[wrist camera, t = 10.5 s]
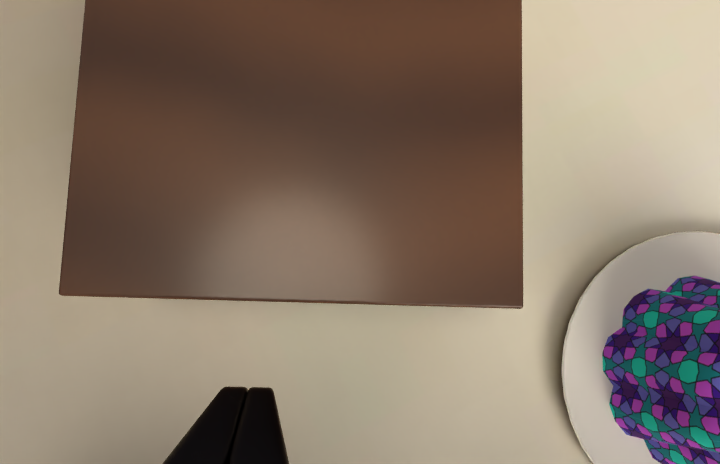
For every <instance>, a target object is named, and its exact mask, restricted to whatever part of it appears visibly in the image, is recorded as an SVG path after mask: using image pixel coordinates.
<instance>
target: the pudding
mask: <svg viewBox="0 0 720 464" xmlns="http://www.w3.org/2000/svg"><path fill="white" fill-rule="evenodd" d="M562 382H563V392H564V399H565V403H566V407H567V410H568V414H569V418H570V422H571V424H572V427H573V429H574V431H575V433H576V435H577V438H578V440H579V442H580V444H581V446H582V448H583V450H584V451H585V453H586V454H587V456H588V457H589V459H590V460H591V462H592V463H593V464H720V233H712V232H704V231H691V232H675V233H671V234H667V235H662V236H658V237H654V238H651V239H649V240H647V241H644V242H642V243H640V244H637V245H635V246H633V247H631V248H629V249H628V250H626V251H625V252H623V253H622V254H620V255H619V256H618V257H616V258H615V259H613V260H612V261H610V262H609V263H608V264H607V265H606V266H605V267H604V268H603V269H602V270H601V271H600V272H599V273H598V274H597V275H596V276H595V277H594V278H593V280H592V281H591V283H590V284H589V286H588V287H587V289H586V290H585V292H584V293H583V294H582V296H581V297H580V299H579V301H578V303H577V306H576V308H575V310H574V312H573V315H572V317H571V319H570V321H569V325H568V329H567V333H566V337H565V341H564V345H563V358H562Z"/></svg>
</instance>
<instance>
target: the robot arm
mask: <svg viewBox="0 0 720 464" xmlns="http://www.w3.org/2000/svg"><path fill="white" fill-rule="evenodd" d="M163 464H289V461H288V457H287V452H286V447H285V443H284V438H283V433H282V429H281V424H280V419H279V415H278V410H277V405H276V401H275V396H274V392H273V390H272V389H271V388H262V387H252V388H250V389H249V390H248V389H247V388H245V387H224V388H223V389H221V390H220V392H219V393H218V394H217V395H216V397H215V398H214V399H213V400H212V402H211V403H210V404H209V406H208V407H207V408H206V409H205V411H204V412H203V413H202V414H201V416H200V417H199V418H198V419H197V421H196V422H195V423H194V425H193V426H192V427H191V428H190V430H189V431H188V432H187V433H186V435H185V436H184V437H183V438H182V440H181V441H180V442H179V444H178V445H177V446H176V447H175V449H174V450H173V451H172V452H171V454H170V455H169V456H168V457H167V459H166V460H165V461H164V463H163Z"/></svg>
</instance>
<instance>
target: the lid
mask: <svg viewBox="0 0 720 464" xmlns="http://www.w3.org/2000/svg"><path fill="white" fill-rule="evenodd" d="M59 294H60V295H62V296H93V297H128V298H163V299H198V300H233V301H269V302H304V303H339V304H374V305H409V306H445V307H480V308H515V309H520V308H522V307H523V181H522V0H85V11H84V22H83V33H82V44H81V55H80V66H79V77H78V88H77V99H76V110H75V121H74V132H73V143H72V154H71V165H70V176H69V187H68V198H67V209H66V220H65V231H64V242H63V253H62V264H61V275H60V286H59Z"/></svg>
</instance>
